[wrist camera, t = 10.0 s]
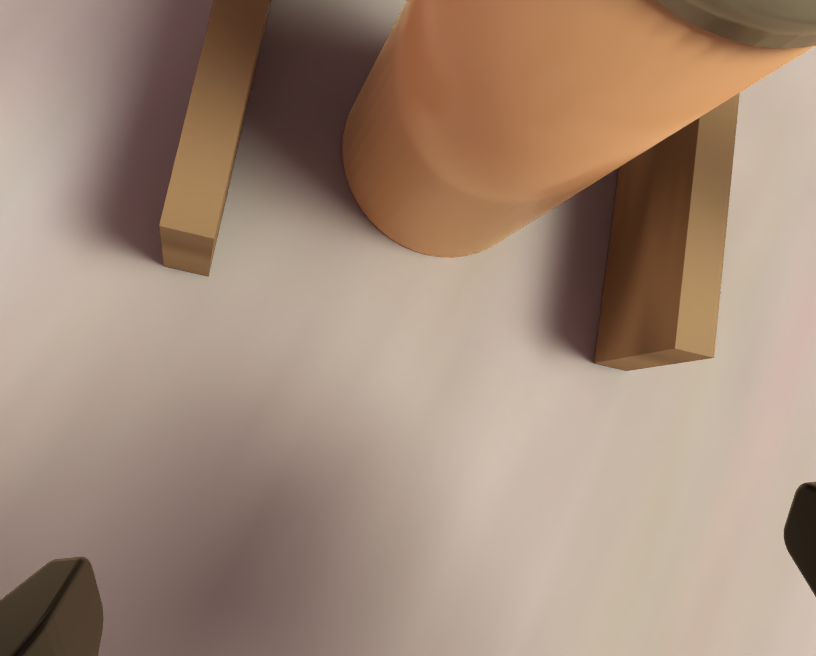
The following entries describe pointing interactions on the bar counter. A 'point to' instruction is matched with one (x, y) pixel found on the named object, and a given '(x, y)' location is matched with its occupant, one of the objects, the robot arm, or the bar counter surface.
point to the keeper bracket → (631, 223)
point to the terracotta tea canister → (540, 103)
